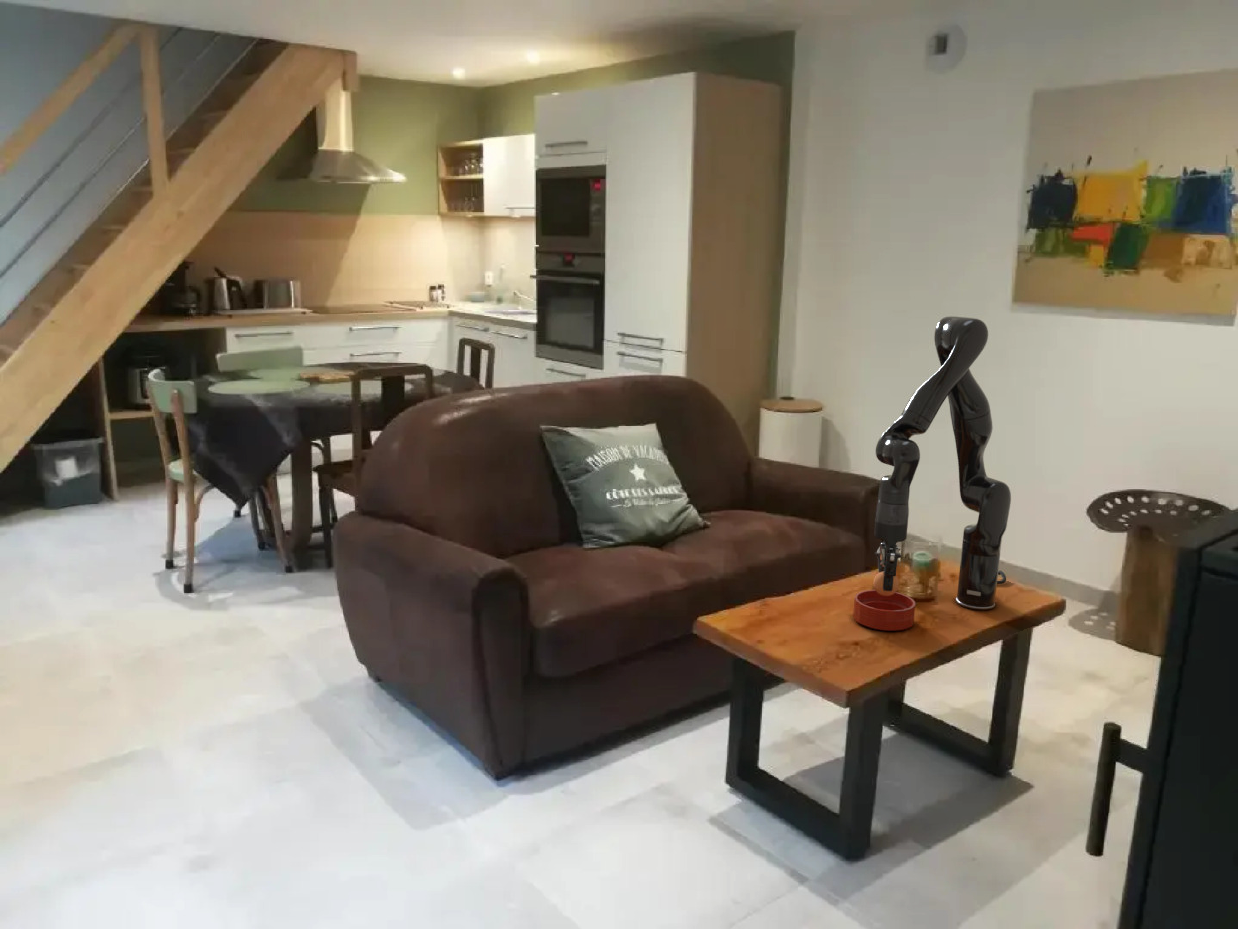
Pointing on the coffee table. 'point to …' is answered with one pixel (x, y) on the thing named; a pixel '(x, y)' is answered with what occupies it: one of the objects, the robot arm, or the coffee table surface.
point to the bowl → (884, 610)
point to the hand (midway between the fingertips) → (886, 585)
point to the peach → (879, 585)
